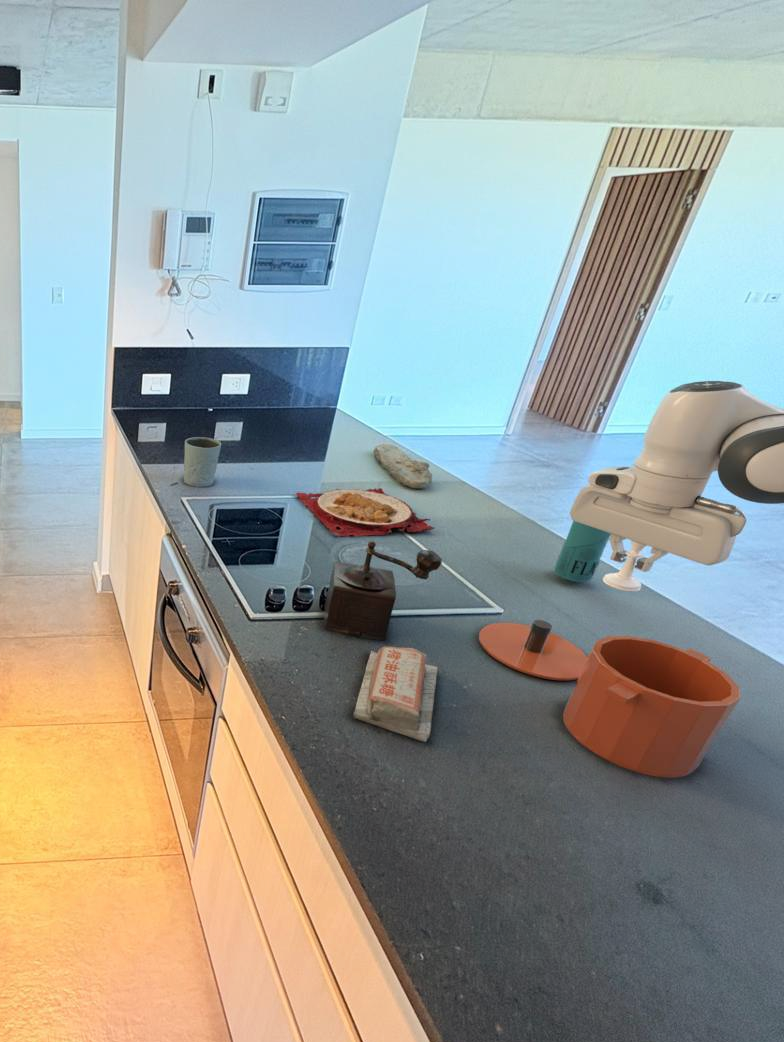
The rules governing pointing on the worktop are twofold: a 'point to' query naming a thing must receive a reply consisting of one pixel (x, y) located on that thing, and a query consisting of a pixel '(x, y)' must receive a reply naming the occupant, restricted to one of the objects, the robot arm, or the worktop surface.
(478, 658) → the worktop surface
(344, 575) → the brown manual coffee grinder
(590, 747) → the pot
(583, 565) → the beverage bottle
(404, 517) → the plate with food
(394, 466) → the long grey stone
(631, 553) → the chess piece
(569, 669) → the lid
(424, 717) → the packaged product
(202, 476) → the green ceramic cup
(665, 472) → the robot arm
